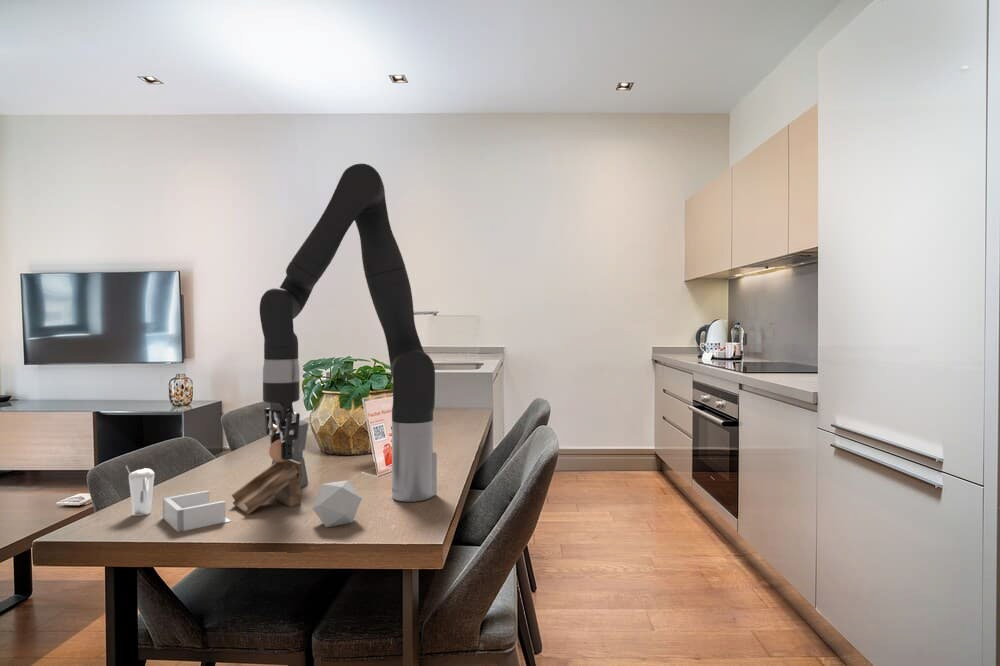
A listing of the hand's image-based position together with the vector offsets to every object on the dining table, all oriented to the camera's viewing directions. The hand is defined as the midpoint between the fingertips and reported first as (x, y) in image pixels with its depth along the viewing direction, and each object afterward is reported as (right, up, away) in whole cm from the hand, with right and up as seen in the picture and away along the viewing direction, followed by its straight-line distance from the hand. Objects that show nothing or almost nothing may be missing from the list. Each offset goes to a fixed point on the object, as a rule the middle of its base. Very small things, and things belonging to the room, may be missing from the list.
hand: (281, 457), depth 125 cm
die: (+16, -10, -14) cm, 23 cm away
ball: (0, +1, 0) cm, 1 cm away
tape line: (-10, -10, -9) cm, 16 cm away
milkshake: (-26, -10, -8) cm, 29 cm away
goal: (-13, -10, -12) cm, 20 cm away
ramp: (-3, -10, -2) cm, 11 cm away
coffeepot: (-4, -10, +15) cm, 19 cm away
